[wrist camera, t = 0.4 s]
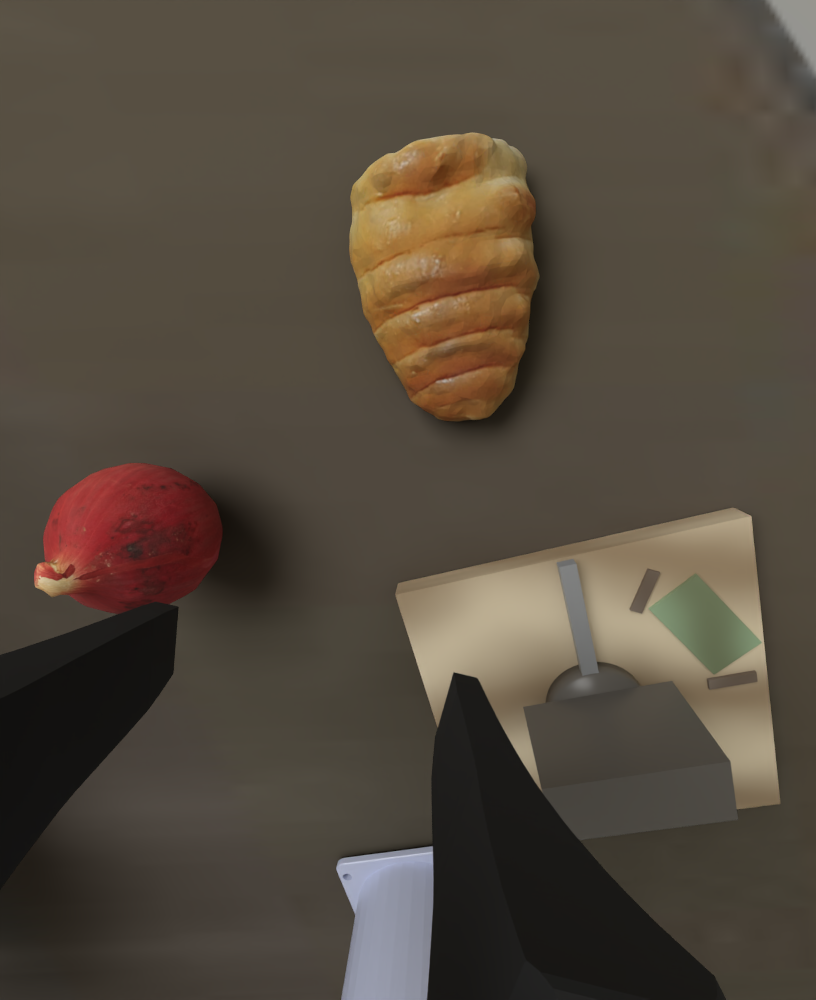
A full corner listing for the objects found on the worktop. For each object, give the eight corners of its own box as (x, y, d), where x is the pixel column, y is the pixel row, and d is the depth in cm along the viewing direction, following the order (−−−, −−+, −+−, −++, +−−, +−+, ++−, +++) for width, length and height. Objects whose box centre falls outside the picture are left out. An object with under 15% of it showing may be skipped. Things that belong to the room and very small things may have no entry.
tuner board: (763, 782, 23) (782, 806, 22) (473, 822, 25) (474, 846, 24) (733, 507, 19) (753, 517, 18) (397, 583, 22) (395, 596, 20)
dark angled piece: (671, 729, 21) (740, 838, 16) (535, 751, 22) (560, 860, 17) (640, 540, 19) (709, 601, 14) (489, 574, 20) (503, 642, 15)
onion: (231, 439, 20) (103, 480, 13) (265, 556, 22) (167, 656, 14) (115, 460, 21) (-72, 511, 14) (155, 572, 23) (6, 676, 15)
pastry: (545, 403, 19) (567, 411, 16) (389, 431, 20) (375, 444, 16) (518, 148, 17) (537, 87, 13) (343, 193, 18) (314, 147, 14)
